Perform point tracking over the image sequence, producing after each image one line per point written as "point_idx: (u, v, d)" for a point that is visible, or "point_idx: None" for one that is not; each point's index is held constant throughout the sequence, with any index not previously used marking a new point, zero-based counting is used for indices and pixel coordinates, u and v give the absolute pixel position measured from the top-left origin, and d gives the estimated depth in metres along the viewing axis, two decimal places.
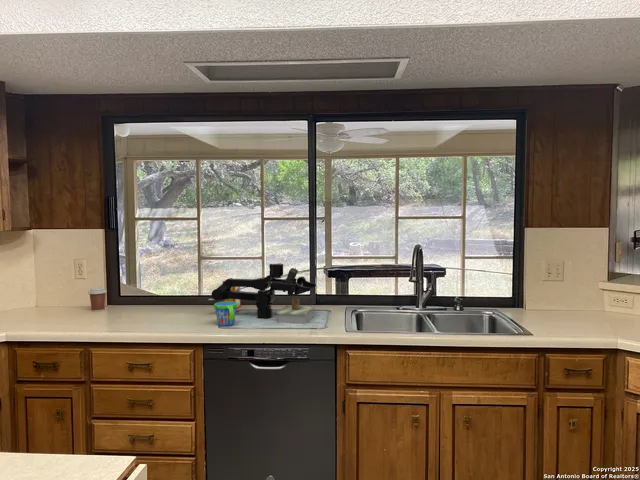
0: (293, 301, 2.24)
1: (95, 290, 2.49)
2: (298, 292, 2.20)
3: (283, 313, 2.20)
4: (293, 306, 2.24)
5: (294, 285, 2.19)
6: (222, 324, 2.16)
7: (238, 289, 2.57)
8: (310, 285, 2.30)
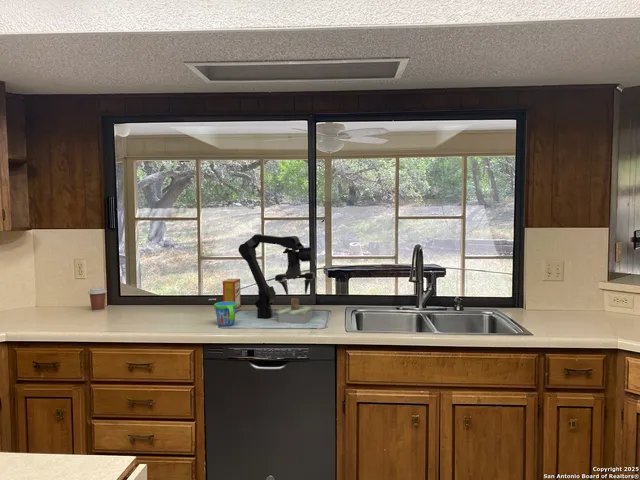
0: (292, 301, 2.25)
1: (95, 290, 2.49)
2: None
3: None
4: (292, 306, 2.25)
5: (278, 281, 2.24)
6: (222, 324, 2.16)
7: (238, 289, 2.57)
8: None
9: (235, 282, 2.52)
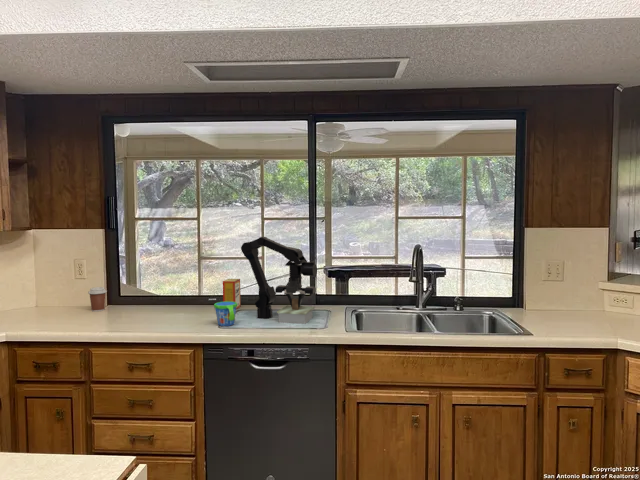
0: (293, 301, 2.25)
1: (95, 290, 2.49)
2: None
3: None
4: (293, 306, 2.25)
5: (284, 293, 2.24)
6: (222, 324, 2.16)
7: (238, 289, 2.57)
8: None
9: (235, 282, 2.52)
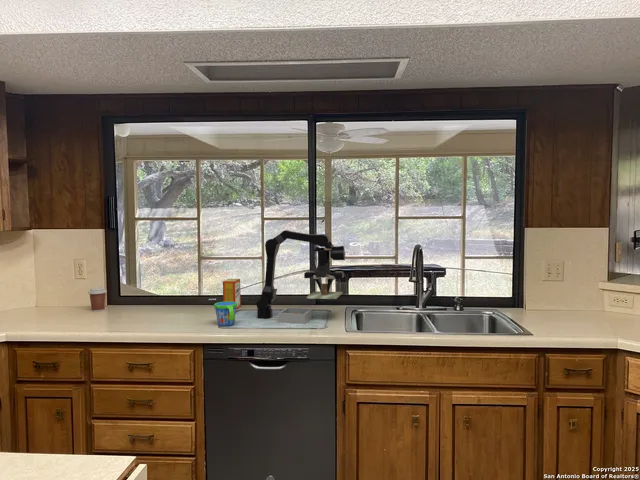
0: (322, 286, 2.25)
1: (95, 290, 2.49)
2: None
3: (313, 298, 2.21)
4: (322, 291, 2.25)
5: (313, 278, 2.25)
6: (222, 324, 2.16)
7: (238, 289, 2.57)
8: None
9: (235, 282, 2.52)
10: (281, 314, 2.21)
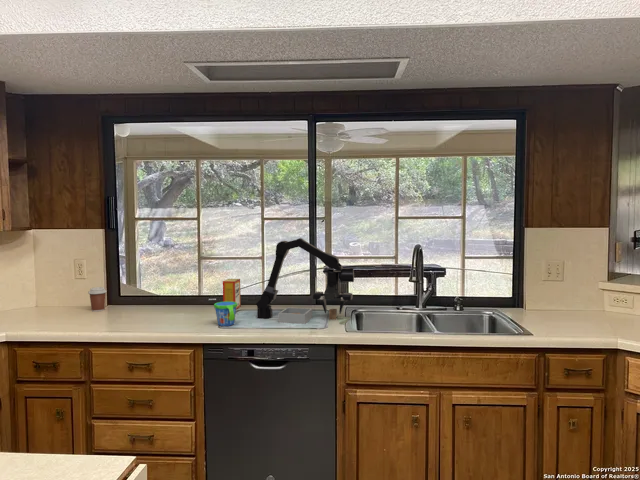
0: (330, 312, 2.26)
1: (95, 290, 2.49)
2: None
3: None
4: (330, 316, 2.27)
5: (318, 299, 2.27)
6: (222, 324, 2.16)
7: (238, 289, 2.57)
8: (340, 308, 2.26)
9: (235, 282, 2.52)
10: (281, 314, 2.21)
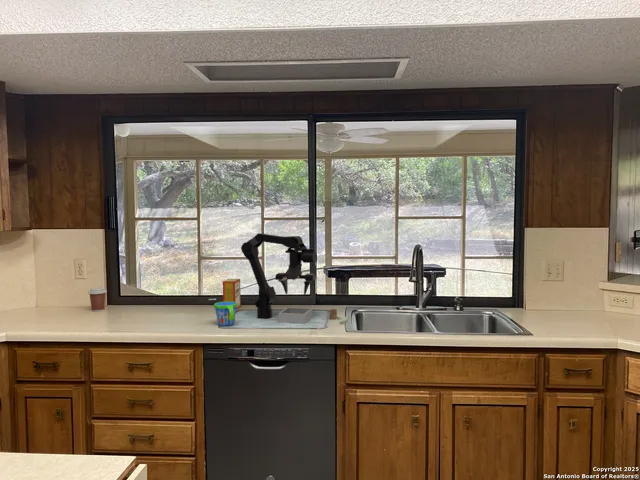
0: (331, 312, 2.26)
1: (95, 290, 2.49)
2: None
3: None
4: (330, 316, 2.27)
5: None
6: (222, 324, 2.16)
7: (238, 289, 2.57)
8: None
9: (235, 282, 2.52)
10: (281, 314, 2.21)
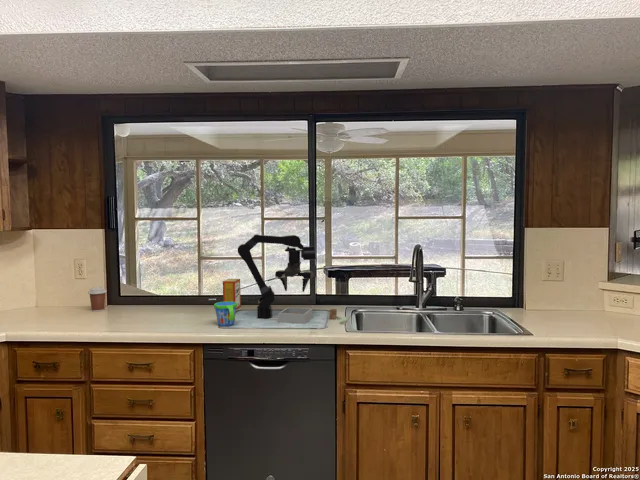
0: (331, 312, 2.26)
1: (95, 290, 2.49)
2: None
3: None
4: (331, 316, 2.27)
5: (278, 277, 2.34)
6: (222, 324, 2.16)
7: (238, 289, 2.57)
8: None
9: (235, 282, 2.52)
10: (281, 314, 2.21)
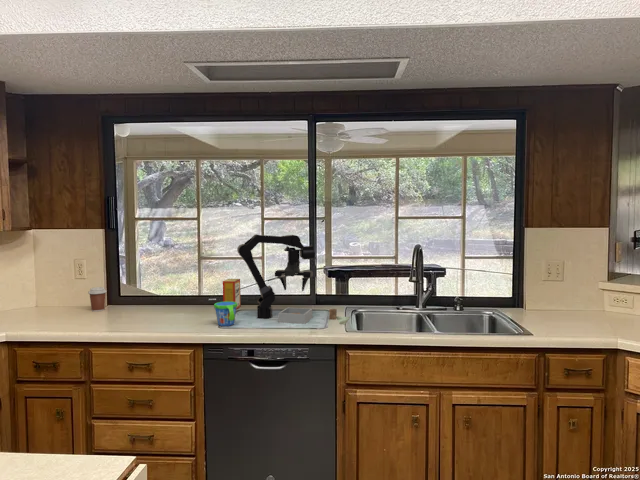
0: (331, 312, 2.26)
1: (95, 290, 2.49)
2: None
3: None
4: (331, 316, 2.27)
5: None
6: (222, 324, 2.16)
7: (238, 289, 2.57)
8: None
9: (235, 282, 2.52)
10: (281, 314, 2.21)
